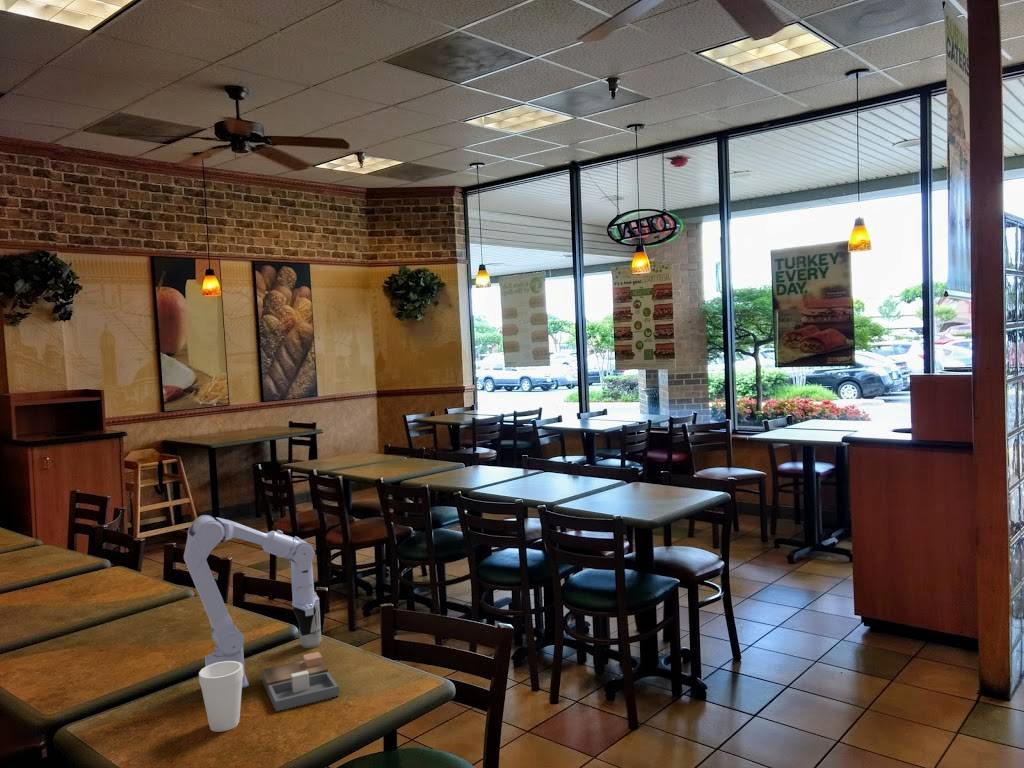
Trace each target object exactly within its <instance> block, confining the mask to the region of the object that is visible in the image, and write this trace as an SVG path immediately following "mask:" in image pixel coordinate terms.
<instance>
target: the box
mask: <svg viewBox="0 0 1024 768" xmlns="http://www.w3.org/2000/svg"><path fill="white" fill-rule="evenodd" d="M309 684H310V689H307V690H303V691H299V692H295V693H293V691H292V683H291V680H290V681H286V682H281V683H277V684H273V685H268V693H269V695H268V697H269V699H270V701H271V704H272V706H273V708H274V710H276V711H278V712H281V711H280V710H282V711H285V710H284V709H286V710H290V709H293V708H292V707H294V708H297V707H296V706H298V707H301V706H300V705H302V706H305V705H304V704H306V705H309V704H308V703H310V704H313V703H312V702H314V703H317V702H316V701H318V702H321V701H320V700H322V701H325V700H324V699H326V700H329V699H328V698H330V699H333V698H332V697H334V698H337V697H336V696H338V697H339V696H340V688H339V687H340V686H339V685H338V683H337V682H336V681H335V679H334V678H333V676H332V674H331V673H330V672H329V671H328V672H324V673H320V674H316V675H311V676H309ZM268 693H267V694H268ZM289 708H290V709H289ZM276 711H275V712H276Z"/></svg>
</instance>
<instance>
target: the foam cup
mask: <svg viewBox="0 0 1024 768" xmlns="http://www.w3.org/2000/svg"><path fill="white" fill-rule="evenodd" d="M243 676H244V675H243V665H242V664H241V663H240V662H237V661H224V662H217V663H214V664H211V665H208V666H206V667H205V666H204V667H203V668H201V669H200V671H199V672H198V681H199V685H200V687H201V693H202V698H203V703H204V706H205V712H206V715H207V716H206V717H207V720H208V726H209V729H210V731H212V732H217V733H218V732H220V733H221V732H226V731H229V730H231V729H234V728H236V727H237V726H238V725H239V724H238V723H240V718H241V717H240V715H241V707H242V706H241V705H242V692H243V691H242V690H243V688H242V678H243Z"/></svg>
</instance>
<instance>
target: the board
mask: <svg viewBox="0 0 1024 768" xmlns="http://www.w3.org/2000/svg"><path fill="white" fill-rule="evenodd" d="M302 671H308V673H309V676H311V675H316V674H320V673H324V672H329V668H328V667H327V666H326V664H325V662H323V660H322V664H321V665H317V666H313V667H308V668H307V667H306V665H305V664H304V660H298V661H294V662H290V663H286V664H281V665H276V666H272V667H267V668H263V669H262V668H261V681H262V684H263V686H264V689H265V690H266V693H267V696H269V693H268V685H273V684H277V683H281V682H286V681H290V680H291V674H294V673H298V672H302Z"/></svg>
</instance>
